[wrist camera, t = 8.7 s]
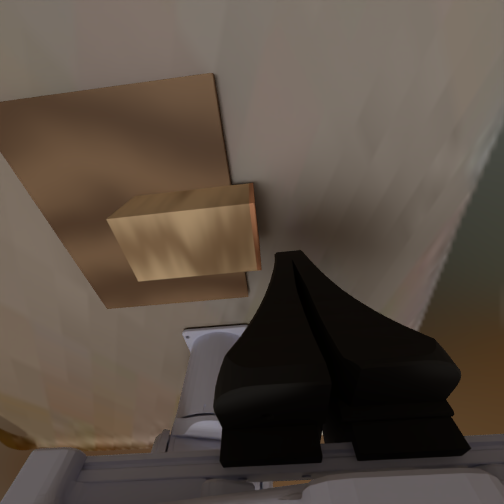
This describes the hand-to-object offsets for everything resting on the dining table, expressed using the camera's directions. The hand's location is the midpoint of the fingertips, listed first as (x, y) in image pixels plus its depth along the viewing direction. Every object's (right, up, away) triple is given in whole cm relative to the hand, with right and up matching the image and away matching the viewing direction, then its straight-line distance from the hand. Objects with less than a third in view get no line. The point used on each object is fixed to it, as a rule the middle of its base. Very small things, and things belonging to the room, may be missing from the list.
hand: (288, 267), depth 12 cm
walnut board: (-11, +3, +7) cm, 13 cm away
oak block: (-2, +3, +4) cm, 5 cm away
